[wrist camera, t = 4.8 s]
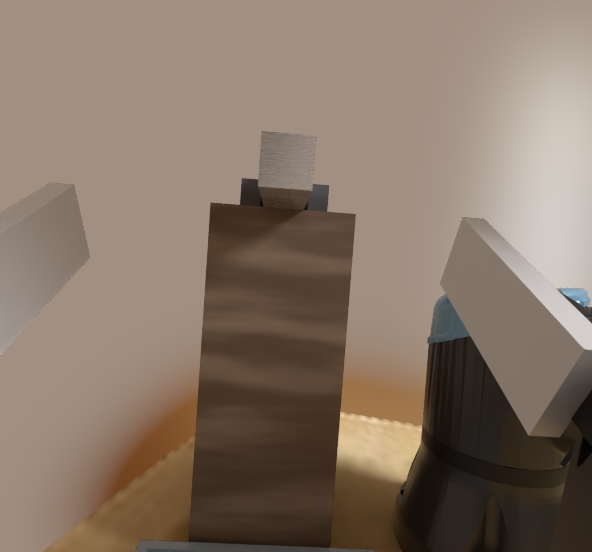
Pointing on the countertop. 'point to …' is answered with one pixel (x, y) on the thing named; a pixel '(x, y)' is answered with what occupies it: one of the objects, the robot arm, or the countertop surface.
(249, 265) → the walnut stand
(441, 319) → the robot arm
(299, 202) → the steel bar
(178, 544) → the slate tray
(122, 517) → the countertop surface
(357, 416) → the countertop surface
